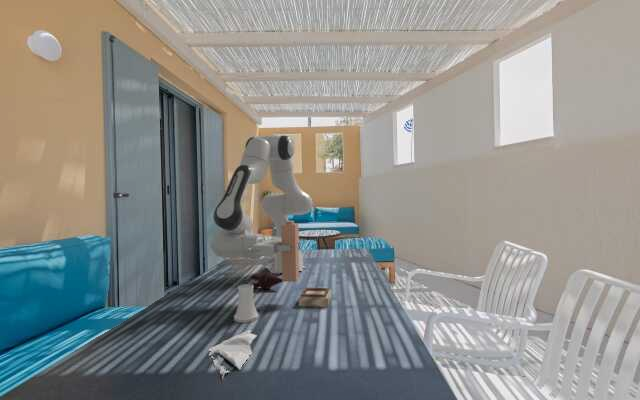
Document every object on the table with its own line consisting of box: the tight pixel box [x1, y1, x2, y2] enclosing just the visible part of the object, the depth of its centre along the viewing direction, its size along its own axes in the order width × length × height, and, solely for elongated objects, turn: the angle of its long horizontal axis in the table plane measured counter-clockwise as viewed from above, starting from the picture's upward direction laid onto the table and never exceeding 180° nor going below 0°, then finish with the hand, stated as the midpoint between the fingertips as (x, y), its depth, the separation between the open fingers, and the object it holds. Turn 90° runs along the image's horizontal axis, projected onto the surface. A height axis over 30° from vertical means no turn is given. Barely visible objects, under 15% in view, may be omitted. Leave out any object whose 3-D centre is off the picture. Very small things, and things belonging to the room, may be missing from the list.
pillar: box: [281, 220, 300, 283], centre depth 122 cm, size 5×5×21 cm
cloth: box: [207, 329, 258, 380], centre depth 84 cm, size 26×14×2 cm, turn 168°
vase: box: [233, 283, 260, 323], centre depth 106 cm, size 8×8×10 cm
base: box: [298, 287, 332, 308], centre depth 121 cm, size 10×10×4 cm
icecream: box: [250, 271, 284, 290], centre depth 139 cm, size 7×7×15 cm
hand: (292, 246), depth 122 cm, fingers closed on pillar, 5 cm apart
